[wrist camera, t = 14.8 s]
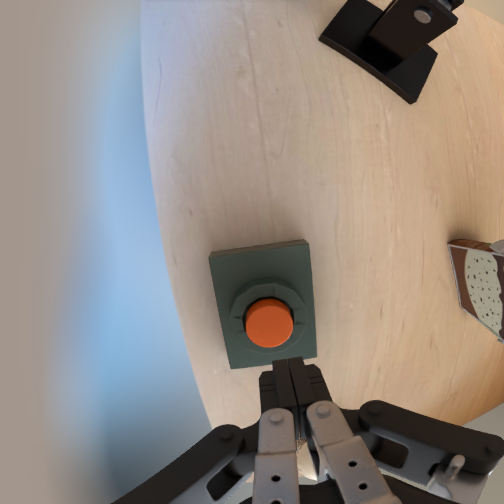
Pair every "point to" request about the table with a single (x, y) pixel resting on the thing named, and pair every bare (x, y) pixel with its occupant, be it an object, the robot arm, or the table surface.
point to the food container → (480, 281)
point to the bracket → (391, 39)
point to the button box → (265, 287)
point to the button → (269, 323)
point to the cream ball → (305, 463)
